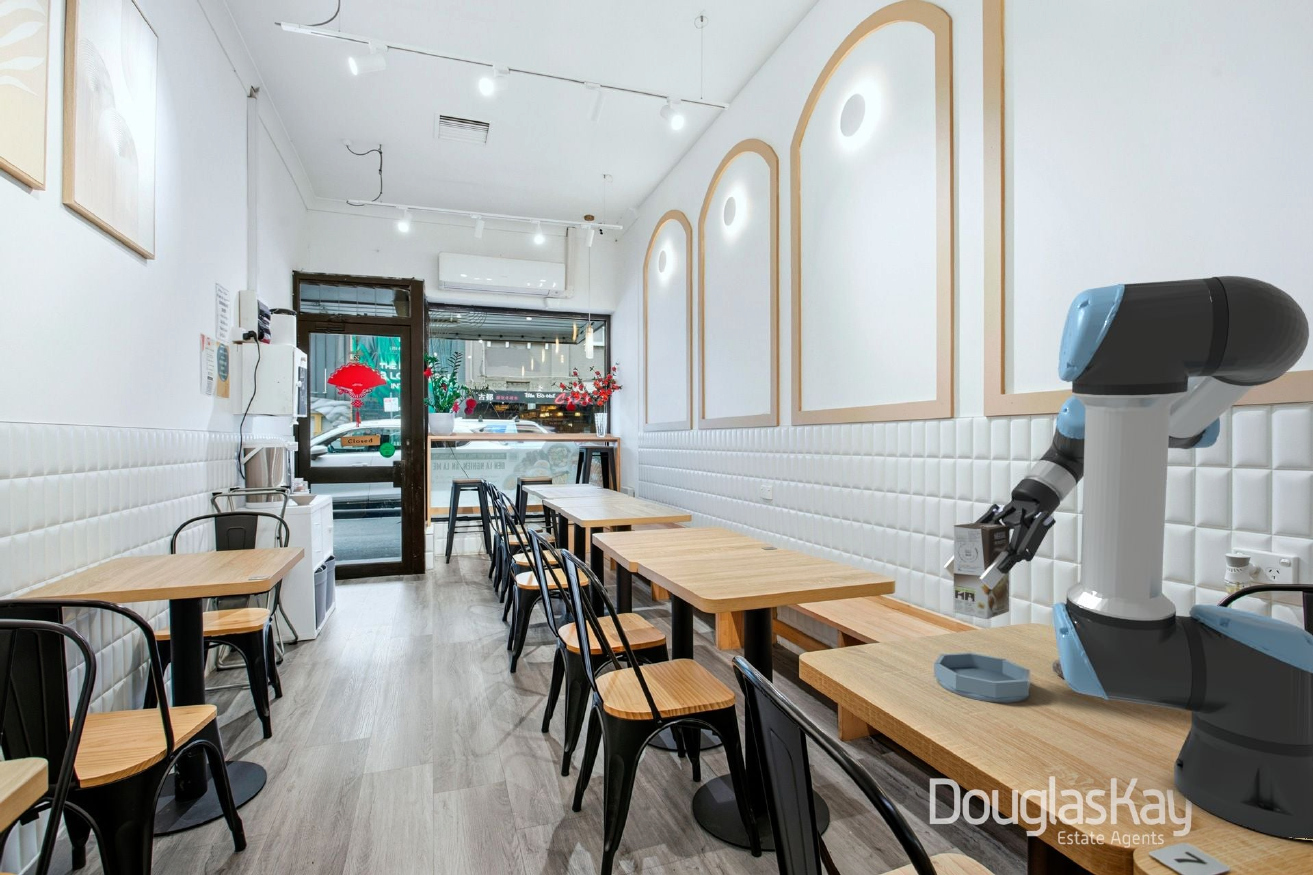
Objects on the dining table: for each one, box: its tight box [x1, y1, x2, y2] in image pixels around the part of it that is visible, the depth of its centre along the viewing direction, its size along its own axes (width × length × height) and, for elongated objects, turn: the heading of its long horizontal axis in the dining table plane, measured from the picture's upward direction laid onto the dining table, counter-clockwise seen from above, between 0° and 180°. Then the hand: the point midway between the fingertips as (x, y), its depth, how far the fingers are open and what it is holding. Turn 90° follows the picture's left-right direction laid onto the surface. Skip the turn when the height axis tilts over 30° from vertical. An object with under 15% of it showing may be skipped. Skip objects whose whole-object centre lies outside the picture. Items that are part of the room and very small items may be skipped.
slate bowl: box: [933, 652, 1031, 704], centre depth 115 cm, size 15×15×4 cm
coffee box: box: [953, 522, 1011, 620], centre depth 115 cm, size 9×6×16 cm
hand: (966, 577), depth 115 cm, fingers closed on coffee box, 9 cm apart
